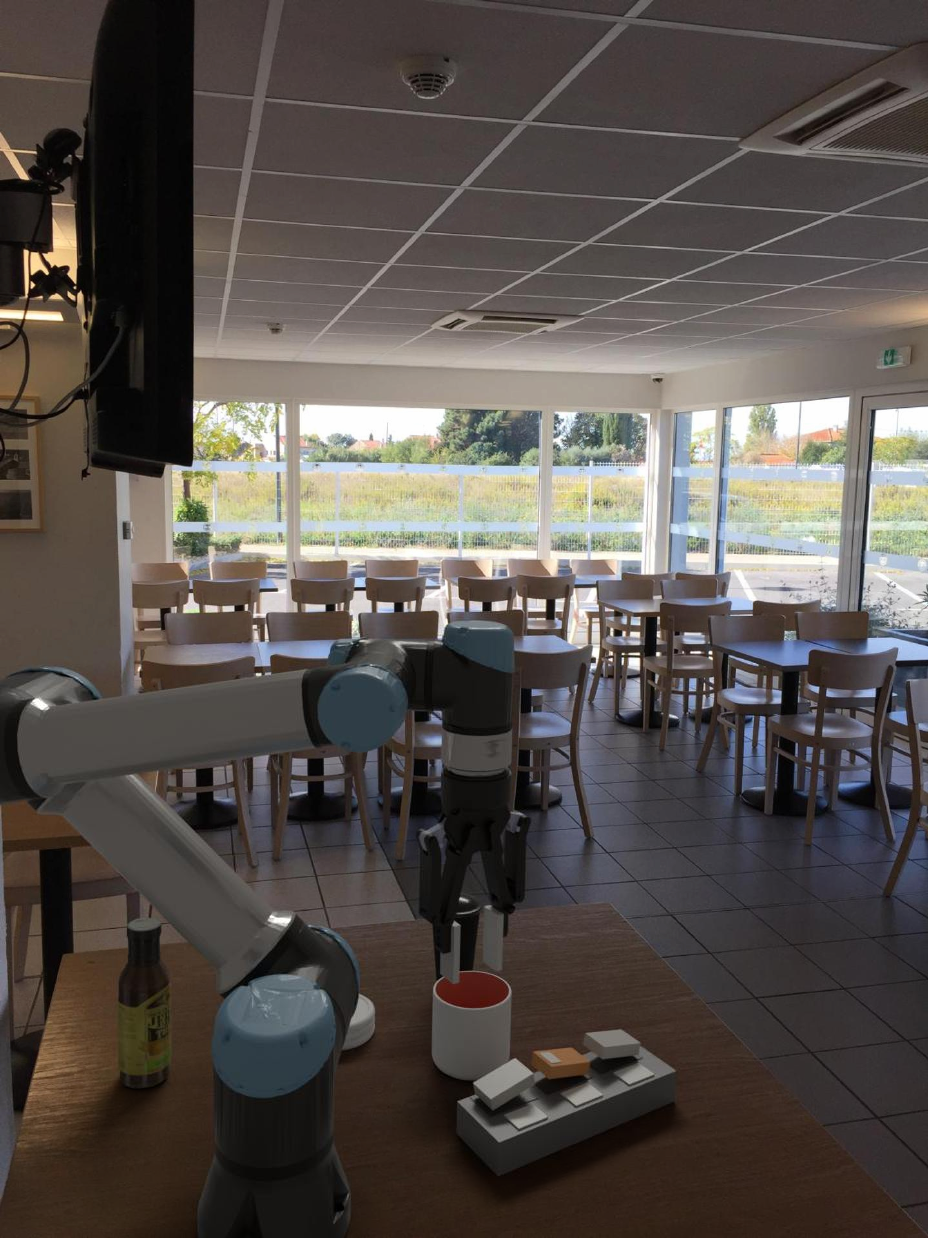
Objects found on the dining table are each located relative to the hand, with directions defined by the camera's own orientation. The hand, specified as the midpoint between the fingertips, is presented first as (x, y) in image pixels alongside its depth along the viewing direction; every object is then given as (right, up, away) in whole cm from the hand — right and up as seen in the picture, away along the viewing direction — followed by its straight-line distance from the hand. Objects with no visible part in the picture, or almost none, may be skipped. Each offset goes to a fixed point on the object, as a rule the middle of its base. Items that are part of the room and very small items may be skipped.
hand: (471, 971), depth 112 cm
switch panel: (+12, -20, +8) cm, 25 cm away
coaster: (-18, -17, +26) cm, 36 cm away
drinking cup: (-2, -16, +37) cm, 40 cm away
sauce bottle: (-40, -18, +14) cm, 46 cm away
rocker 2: (+11, -14, +9) cm, 20 cm away
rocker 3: (+17, -14, +13) cm, 26 cm away
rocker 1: (+4, -15, +5) cm, 16 cm away
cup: (0, -18, +19) cm, 27 cm away
